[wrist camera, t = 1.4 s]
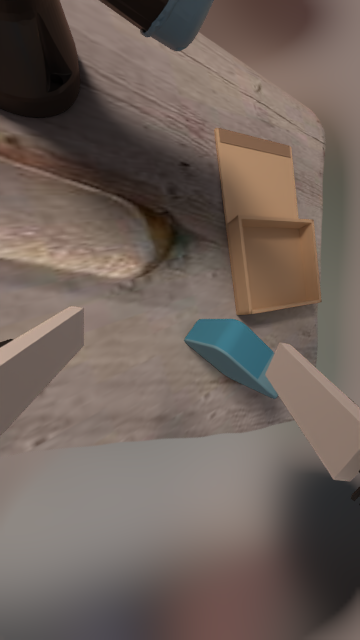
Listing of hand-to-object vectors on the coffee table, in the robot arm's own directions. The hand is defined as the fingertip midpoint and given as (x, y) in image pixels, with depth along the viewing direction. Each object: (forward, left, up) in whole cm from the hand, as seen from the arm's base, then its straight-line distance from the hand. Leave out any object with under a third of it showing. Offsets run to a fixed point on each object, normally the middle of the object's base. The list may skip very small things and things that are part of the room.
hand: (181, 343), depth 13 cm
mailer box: (-17, +28, -18) cm, 38 cm away
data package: (+5, +12, -19) cm, 23 cm away
